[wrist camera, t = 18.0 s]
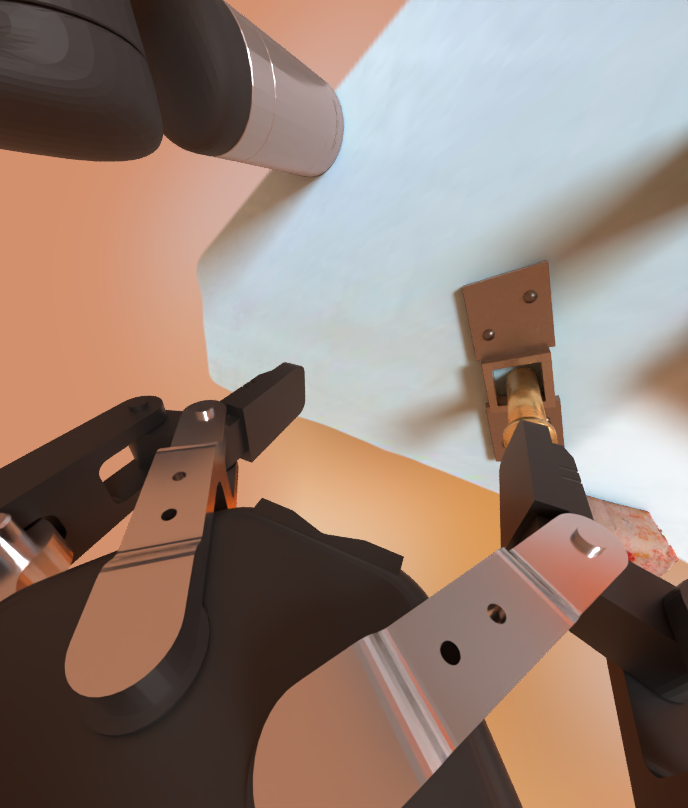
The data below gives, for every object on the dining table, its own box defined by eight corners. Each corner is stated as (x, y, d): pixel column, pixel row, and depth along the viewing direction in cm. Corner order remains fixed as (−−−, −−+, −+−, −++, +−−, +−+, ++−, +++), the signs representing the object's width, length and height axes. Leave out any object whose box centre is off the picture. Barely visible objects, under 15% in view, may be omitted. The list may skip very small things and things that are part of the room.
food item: (663, 508, 43) (700, 572, 35) (633, 541, 47) (661, 605, 39) (553, 479, 47) (564, 531, 39) (535, 512, 51) (542, 564, 44)
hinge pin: (498, 389, 43) (497, 452, 32) (508, 360, 41) (512, 416, 29) (533, 397, 42) (546, 466, 30) (546, 367, 39) (566, 429, 28)
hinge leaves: (563, 454, 44) (567, 467, 42) (496, 456, 49) (496, 468, 46) (546, 260, 34) (550, 263, 32) (462, 285, 39) (460, 290, 36)
